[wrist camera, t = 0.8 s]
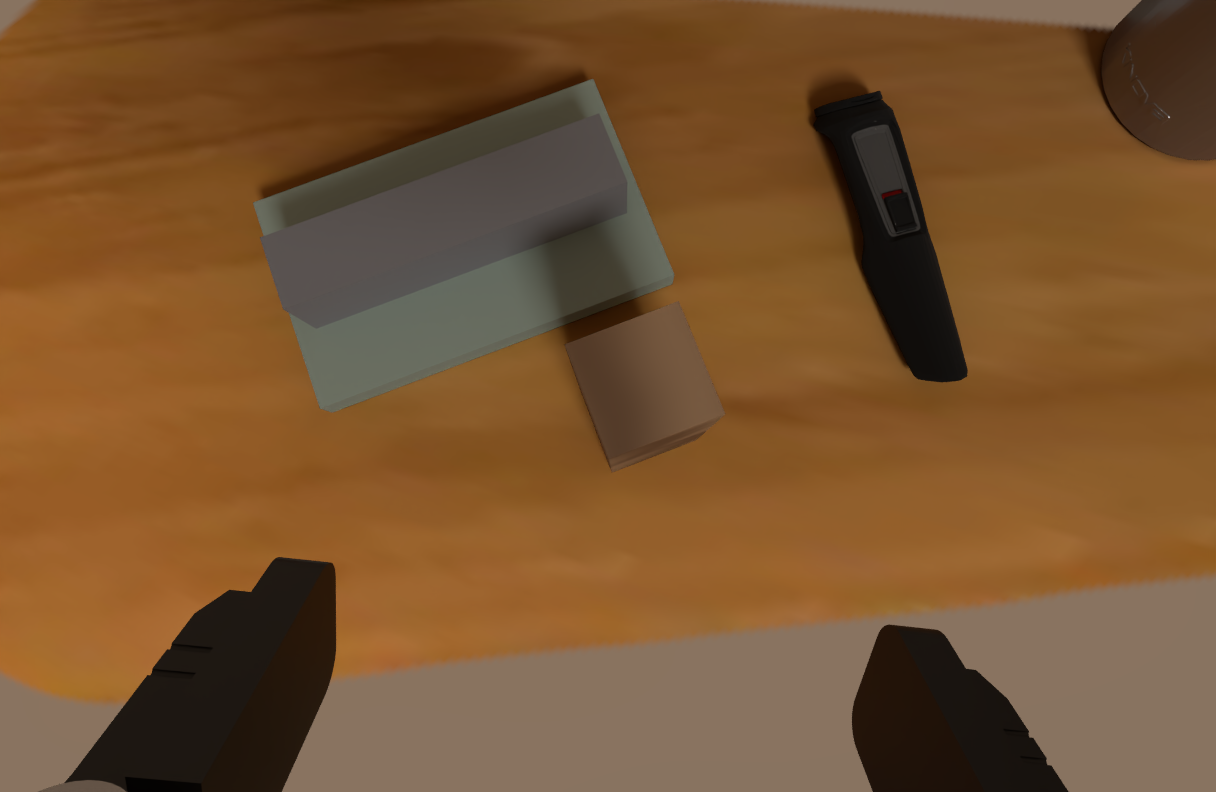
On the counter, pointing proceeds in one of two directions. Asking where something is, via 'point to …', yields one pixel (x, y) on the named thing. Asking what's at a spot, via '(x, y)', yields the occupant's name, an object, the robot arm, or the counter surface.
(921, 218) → the electric trimmer
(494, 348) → the ridge board
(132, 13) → the counter surface
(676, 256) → the counter surface
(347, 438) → the counter surface
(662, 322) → the brown wooden block
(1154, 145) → the robot arm
